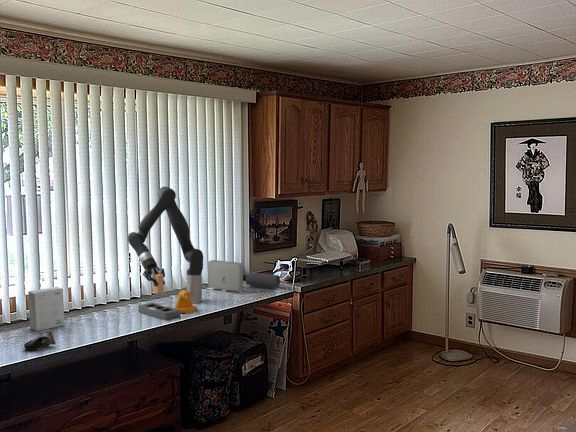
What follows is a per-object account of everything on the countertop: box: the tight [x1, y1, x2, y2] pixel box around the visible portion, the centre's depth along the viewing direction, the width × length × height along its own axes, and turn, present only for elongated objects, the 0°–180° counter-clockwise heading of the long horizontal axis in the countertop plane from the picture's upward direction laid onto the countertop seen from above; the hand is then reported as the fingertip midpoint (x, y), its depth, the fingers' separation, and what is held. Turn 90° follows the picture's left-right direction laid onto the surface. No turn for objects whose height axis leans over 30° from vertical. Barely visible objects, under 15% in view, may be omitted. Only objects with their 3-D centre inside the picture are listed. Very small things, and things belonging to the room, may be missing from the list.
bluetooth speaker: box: [245, 272, 281, 290], centre depth 412 cm, size 23×9×10 cm, turn 66°
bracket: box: [174, 290, 198, 314], centre depth 346 cm, size 11×7×12 cm, turn 134°
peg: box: [152, 274, 165, 294], centre depth 338 cm, size 4×4×10 cm
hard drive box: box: [27, 286, 65, 332], centre depth 313 cm, size 16×8×20 cm, turn 135°
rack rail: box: [137, 302, 181, 322], centre depth 339 cm, size 26×10×4 cm, turn 48°
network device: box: [207, 259, 244, 295], centre depth 399 cm, size 26×9×20 cm, turn 62°
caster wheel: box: [23, 330, 56, 352], centre depth 278 cm, size 7×11×10 cm
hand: (160, 284), depth 336 cm, fingers closed on peg, 4 cm apart
